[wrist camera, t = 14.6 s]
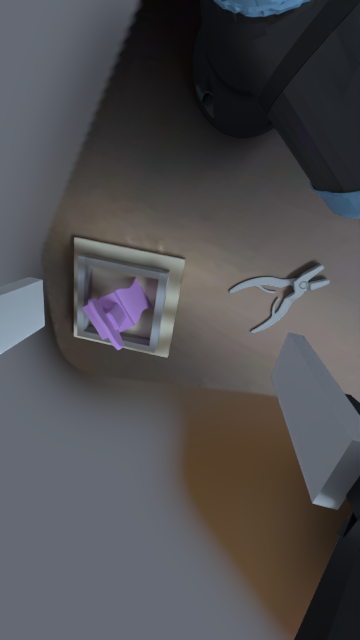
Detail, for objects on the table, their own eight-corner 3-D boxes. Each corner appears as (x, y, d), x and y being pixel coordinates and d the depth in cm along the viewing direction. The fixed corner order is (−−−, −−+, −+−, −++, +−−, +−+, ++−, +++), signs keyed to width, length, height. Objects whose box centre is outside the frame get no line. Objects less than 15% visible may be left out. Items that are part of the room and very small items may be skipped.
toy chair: (94, 291, 48) (45, 322, 34) (133, 272, 45) (96, 297, 32) (117, 328, 50) (80, 371, 37) (155, 311, 48) (130, 350, 34)
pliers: (228, 291, 44) (315, 246, 40) (228, 288, 46) (312, 245, 41) (253, 336, 47) (337, 299, 42) (252, 332, 48) (333, 296, 44)
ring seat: (77, 236, 45) (64, 238, 42) (185, 258, 44) (182, 263, 41) (76, 334, 53) (66, 343, 50) (168, 355, 52) (164, 365, 49)
